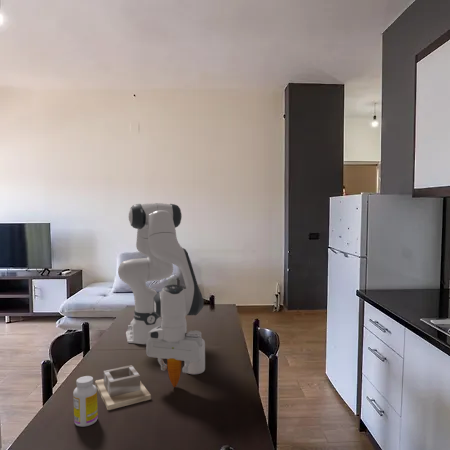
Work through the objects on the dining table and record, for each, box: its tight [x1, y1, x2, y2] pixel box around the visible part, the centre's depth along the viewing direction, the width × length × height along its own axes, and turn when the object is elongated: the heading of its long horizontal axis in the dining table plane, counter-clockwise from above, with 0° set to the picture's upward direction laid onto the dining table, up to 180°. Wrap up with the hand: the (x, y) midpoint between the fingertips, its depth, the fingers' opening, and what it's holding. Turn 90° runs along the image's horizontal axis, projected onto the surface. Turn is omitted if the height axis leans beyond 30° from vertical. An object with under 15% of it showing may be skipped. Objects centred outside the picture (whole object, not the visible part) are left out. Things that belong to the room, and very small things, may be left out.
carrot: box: [166, 347, 182, 388], centre depth 137 cm, size 5×5×15 cm
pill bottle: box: [184, 330, 206, 375], centre depth 151 cm, size 8×8×15 cm
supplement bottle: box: [72, 375, 99, 427], centre depth 116 cm, size 7×7×13 cm
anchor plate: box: [94, 364, 152, 411], centre depth 134 cm, size 20×14×6 cm
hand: (174, 370), depth 137 cm, fingers open, 7 cm apart
